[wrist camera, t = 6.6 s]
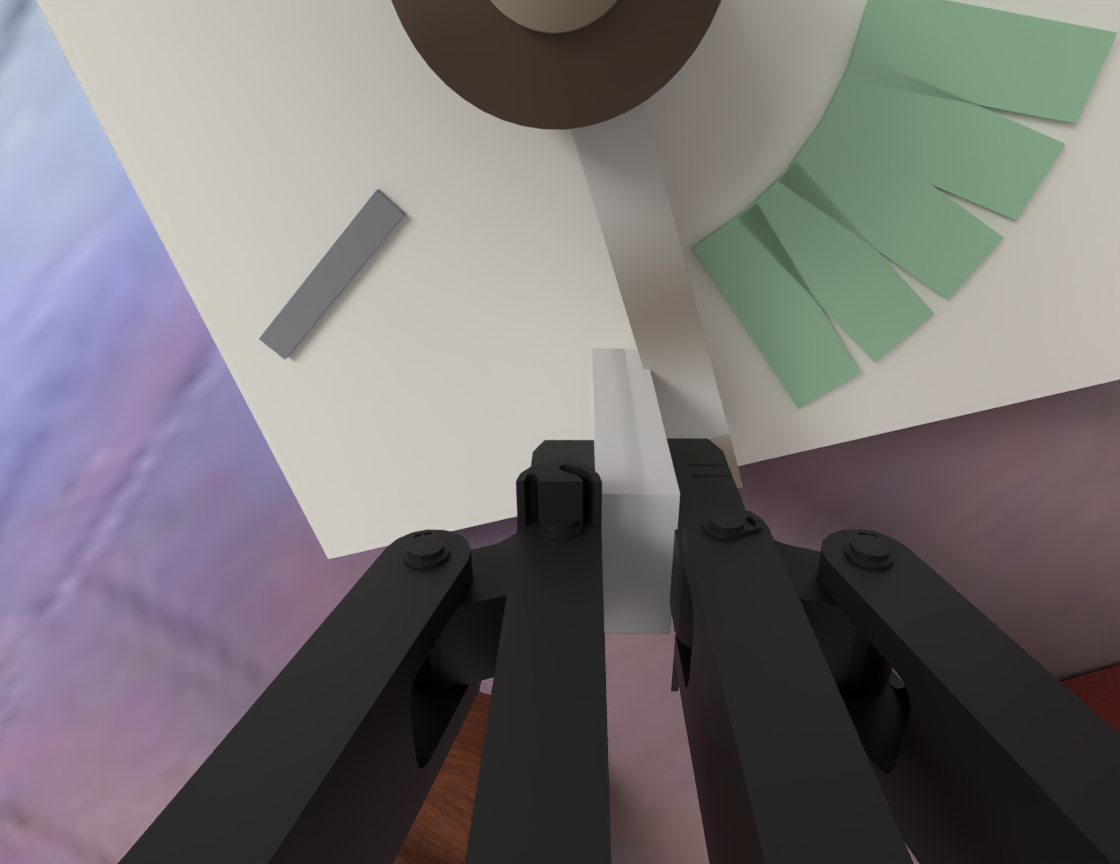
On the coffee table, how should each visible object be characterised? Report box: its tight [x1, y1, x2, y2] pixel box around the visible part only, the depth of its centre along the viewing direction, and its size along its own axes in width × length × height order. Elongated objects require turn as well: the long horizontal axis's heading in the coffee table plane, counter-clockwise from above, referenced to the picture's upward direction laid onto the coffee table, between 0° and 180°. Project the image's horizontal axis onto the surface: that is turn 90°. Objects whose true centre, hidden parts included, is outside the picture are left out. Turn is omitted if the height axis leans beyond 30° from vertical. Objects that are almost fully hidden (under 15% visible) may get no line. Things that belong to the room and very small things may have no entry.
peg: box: [391, 0, 743, 489], centre depth 14 cm, size 14×5×5 cm, turn 18°
